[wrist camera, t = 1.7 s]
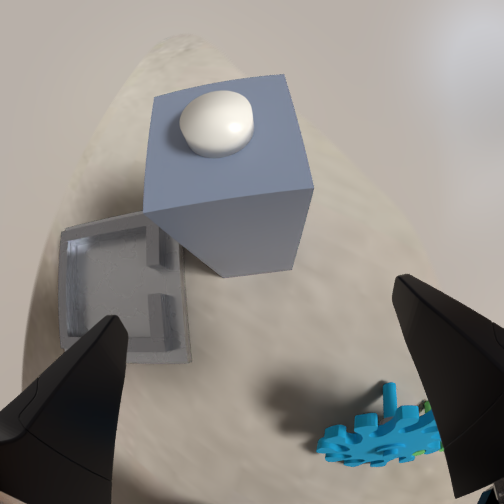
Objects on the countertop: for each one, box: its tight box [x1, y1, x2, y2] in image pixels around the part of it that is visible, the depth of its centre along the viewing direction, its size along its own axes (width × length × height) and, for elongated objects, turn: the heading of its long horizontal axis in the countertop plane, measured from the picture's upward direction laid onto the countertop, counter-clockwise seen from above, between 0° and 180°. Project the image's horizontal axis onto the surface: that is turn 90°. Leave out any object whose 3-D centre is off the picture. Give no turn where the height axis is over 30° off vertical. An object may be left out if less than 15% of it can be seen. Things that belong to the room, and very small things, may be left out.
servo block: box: [143, 74, 314, 278], centre depth 14 cm, size 5×5×14 cm
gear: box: [316, 382, 444, 467], centre depth 14 cm, size 11×6×10 cm
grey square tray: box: [58, 211, 192, 364], centre depth 20 cm, size 12×12×2 cm
